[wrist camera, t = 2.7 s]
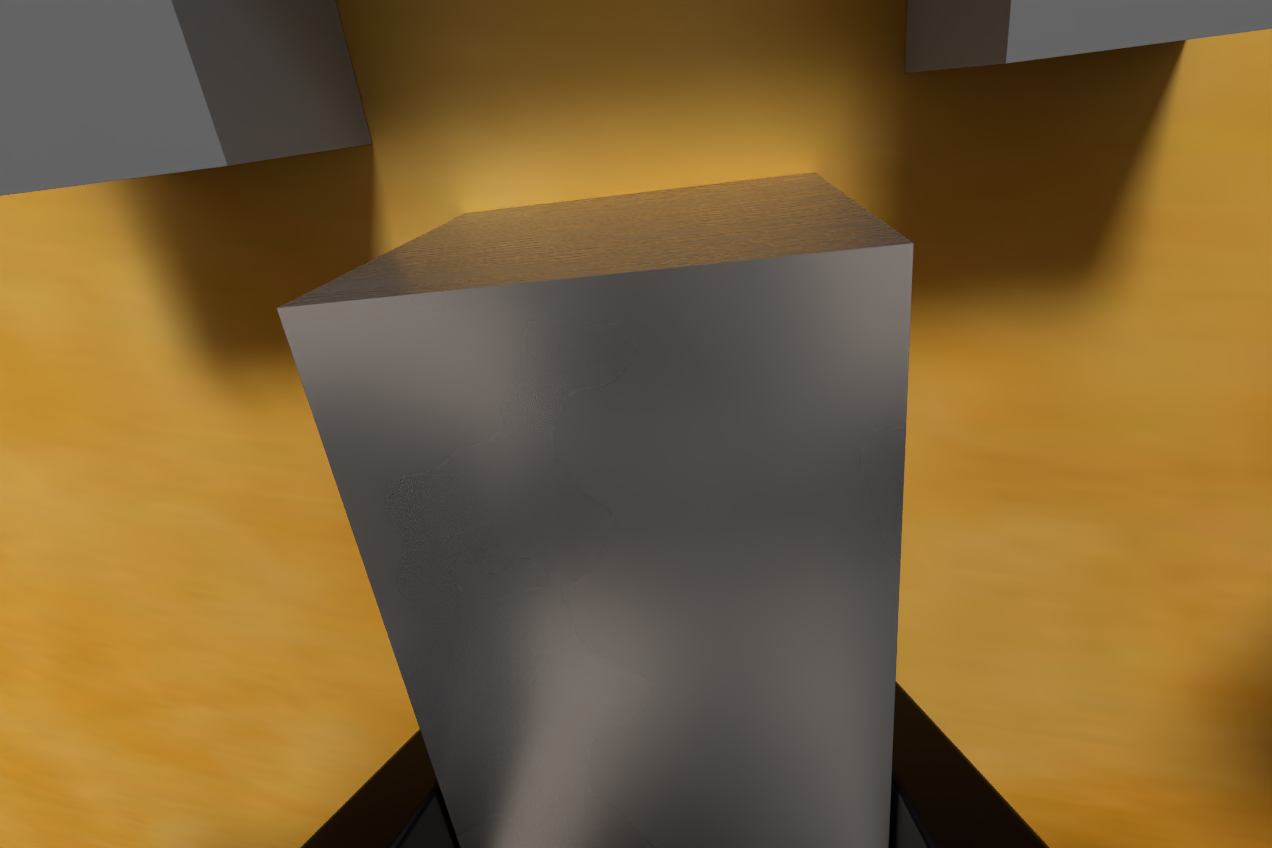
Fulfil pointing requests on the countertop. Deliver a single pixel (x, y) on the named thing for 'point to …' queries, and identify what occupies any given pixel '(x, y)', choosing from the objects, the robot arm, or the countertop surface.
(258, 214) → the countertop surface
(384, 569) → the long gray post
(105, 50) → the grey u-shaped block
